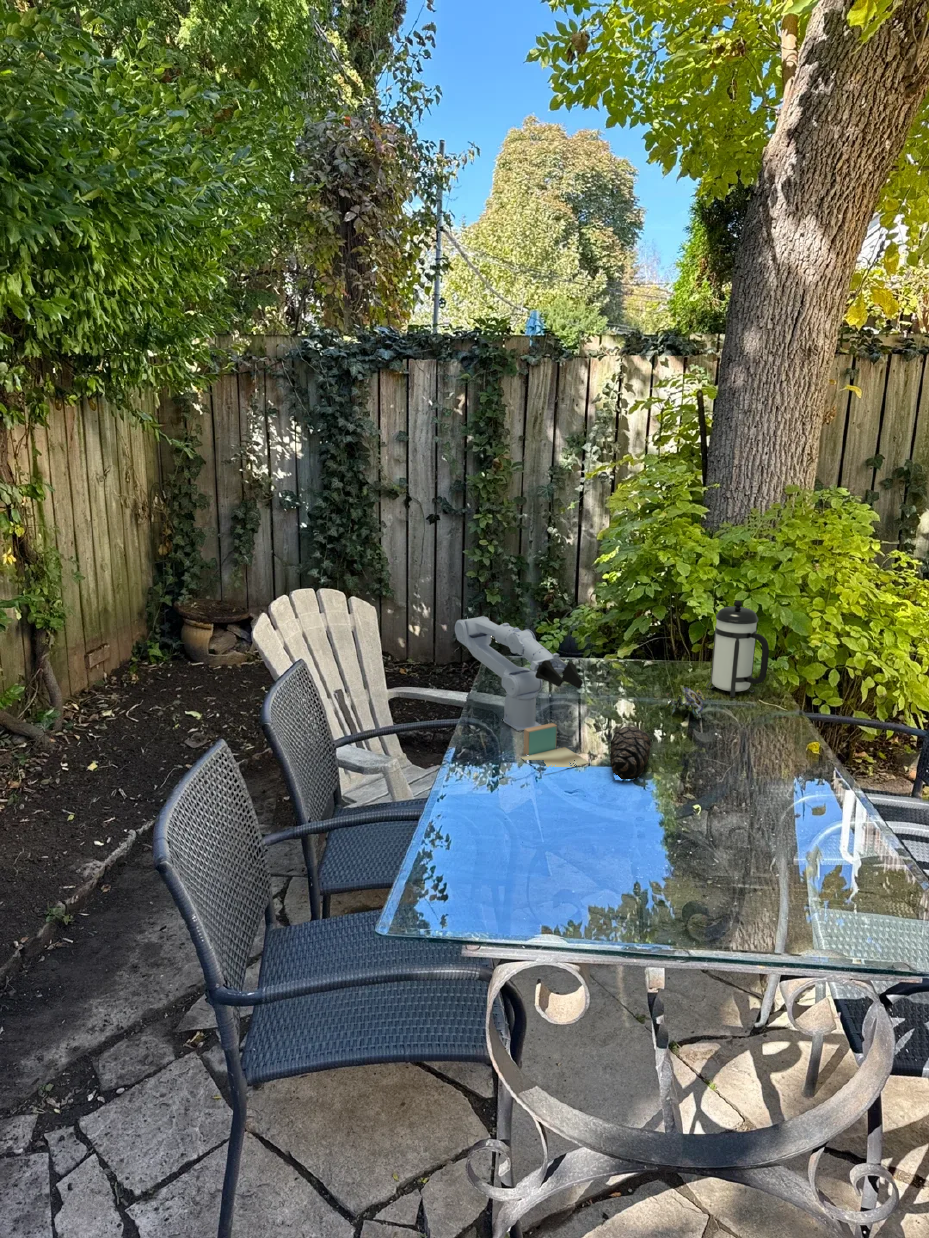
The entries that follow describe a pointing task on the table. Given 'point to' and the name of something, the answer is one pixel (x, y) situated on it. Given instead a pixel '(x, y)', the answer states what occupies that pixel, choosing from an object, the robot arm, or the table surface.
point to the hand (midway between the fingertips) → (570, 684)
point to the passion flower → (688, 701)
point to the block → (540, 739)
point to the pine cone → (629, 752)
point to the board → (558, 758)
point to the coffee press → (737, 650)
